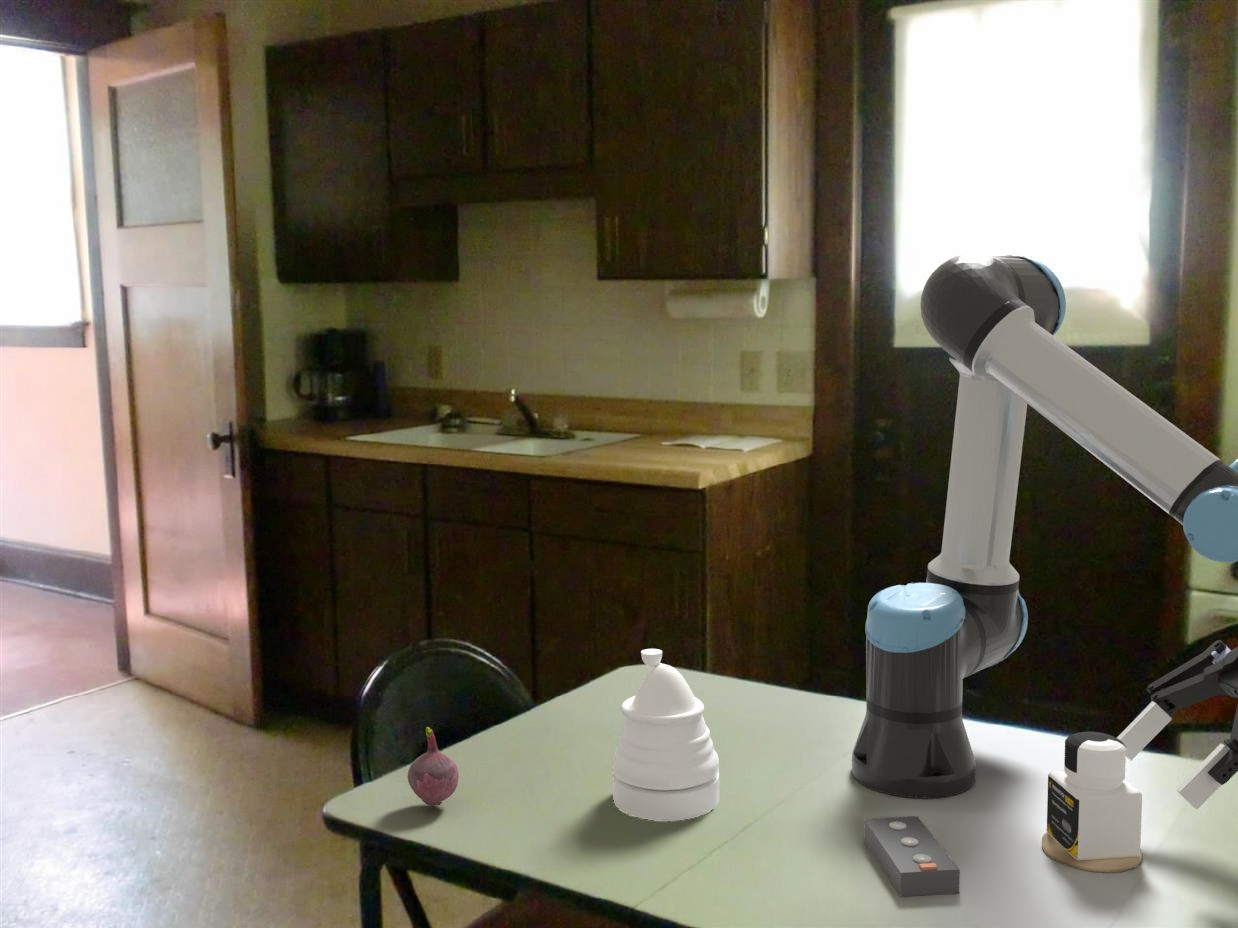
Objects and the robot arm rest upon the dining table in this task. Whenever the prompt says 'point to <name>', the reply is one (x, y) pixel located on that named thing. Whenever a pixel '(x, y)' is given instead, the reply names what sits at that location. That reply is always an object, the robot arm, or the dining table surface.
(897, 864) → the power strip
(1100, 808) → the medicine bottle
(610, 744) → the dining table surface
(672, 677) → the honey pot
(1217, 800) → the dining table surface
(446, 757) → the vegetable
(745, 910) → the dining table surface
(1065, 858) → the coaster
